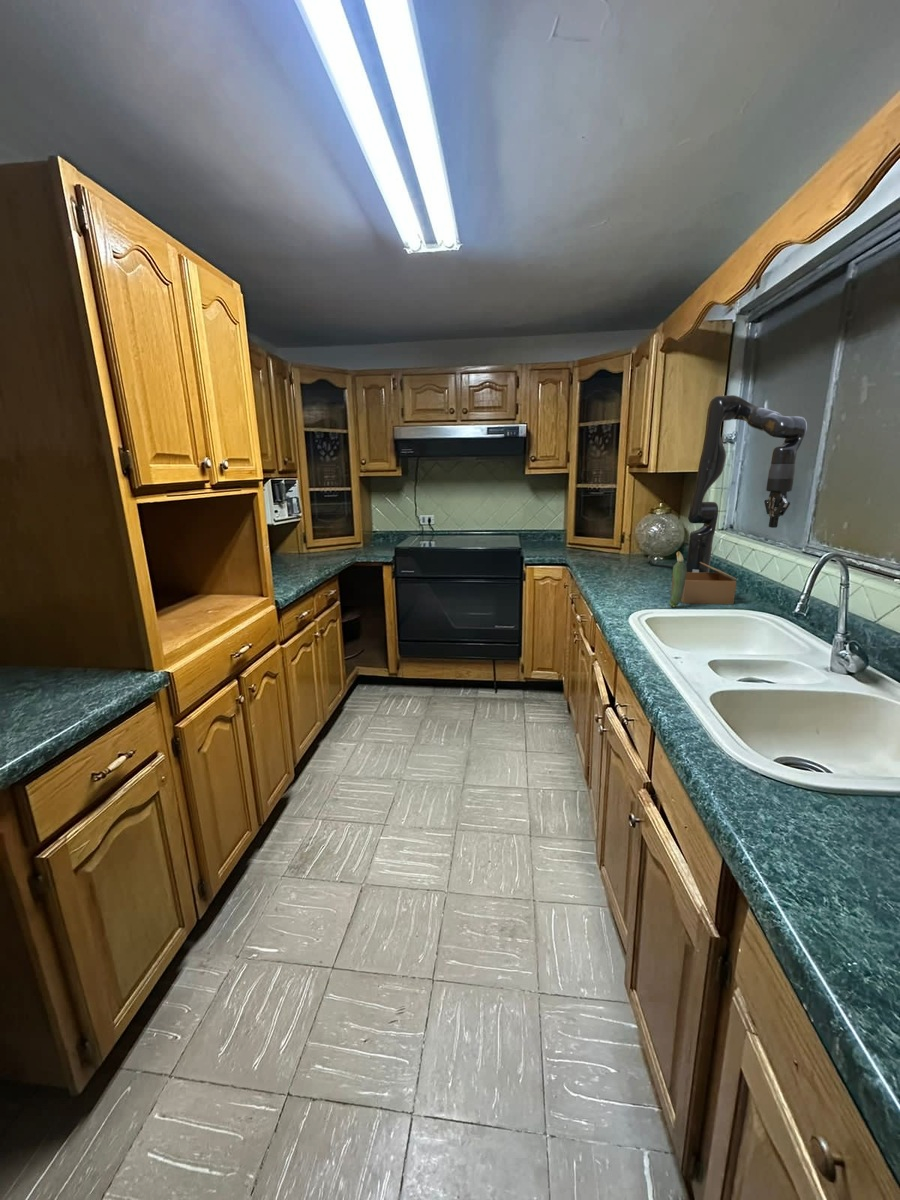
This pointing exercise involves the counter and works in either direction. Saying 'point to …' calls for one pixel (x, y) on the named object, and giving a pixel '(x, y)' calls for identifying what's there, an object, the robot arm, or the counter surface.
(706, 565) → the flap
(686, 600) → the carton
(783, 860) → the counter surface
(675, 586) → the vegetable
